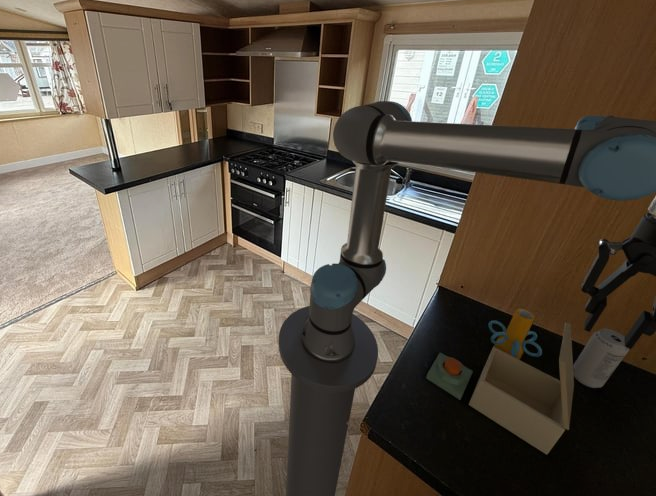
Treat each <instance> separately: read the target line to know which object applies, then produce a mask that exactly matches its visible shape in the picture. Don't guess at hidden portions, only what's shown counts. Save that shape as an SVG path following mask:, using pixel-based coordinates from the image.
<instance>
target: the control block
mask: <svg viewBox="0 0 656 496" xmlns="http://www.w3.org/2000/svg"><path fill="white" fill-rule="evenodd" d="M447 358H453V359H455V360H457V361H458V362H459V363H460V364H461V366H462V369H461V371H460V373H459V375H452V374H450V373H448V372H447V371H446V370H445V368H444V363H445V361H446V359H447ZM472 375H473V370H472V369H470V368H469V367H466V366H465V365H464V364H463V363H462V362H461V361H459V360H458V359H456V358H454V357H450V356H447V355H445V354H444V353H442V352H439V353H438V355H437V357H436V358H435V360H434V361H433V363H432V365H431V366H430V369H429V370H428V372H427V374H426V377H425V379H427V380H428V381H429V382H431V383H433V384H435V385H436V386H437V387H439V388H440V389H442V390H443V391H445V392H447V393H448V394H450V395H451V396H453V397H454V398H455V399H458V400H459V401H461V399H462V397H463V395H464V393H465V390H466V388H467V386H468V383H469V382H470V379H471V378H472Z"/></svg>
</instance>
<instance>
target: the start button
mask: <svg viewBox="0 0 656 496" xmlns="http://www.w3.org/2000/svg"><path fill="white" fill-rule="evenodd" d="M453 358H454V357H452V358H447V359H446V361H445V363H444V368H445V370H446V371H447V372H448V373H450V374H452V375H459V373H460V371H461V369H462V366H461V364H462V363H461V364H460V363H459V362H460V361H459V360H458V359H456V358H454V359H453ZM455 359H456V360H455ZM457 360H458V361H459V362H458V361H457Z"/></svg>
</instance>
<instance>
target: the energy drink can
mask: <svg viewBox="0 0 656 496" xmlns="http://www.w3.org/2000/svg"><path fill="white" fill-rule="evenodd" d="M624 338H625V336H624V335H623V334H621V333H620V332H618V331H616V330H613V329H610V328H601V329H599V330H598V331H594V332H593V333H592V335H591V337H590V338H589V340H588V341H587V343H586V344H585V346H584V348H582V351H581V352H580V354H579V355H578V357H577V359H576V360H575V362H573V375H574V378H575V380H577V382H578V383H580V384H582V385H583V386H585V387H589V388H592V389H598V388H600V389H601V388H603V387H604V385H606V383H607V382H608V380H609V379H610V377H611V376H612V375H613V373H614V372H615V370H616V369H617V368H618V366H619V365H620V364H621V362H622V361H623V360H624V358H625V357H626V356H627V354H628V353H629V351H630V349H629V348H627V347H625V340H624Z"/></svg>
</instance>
